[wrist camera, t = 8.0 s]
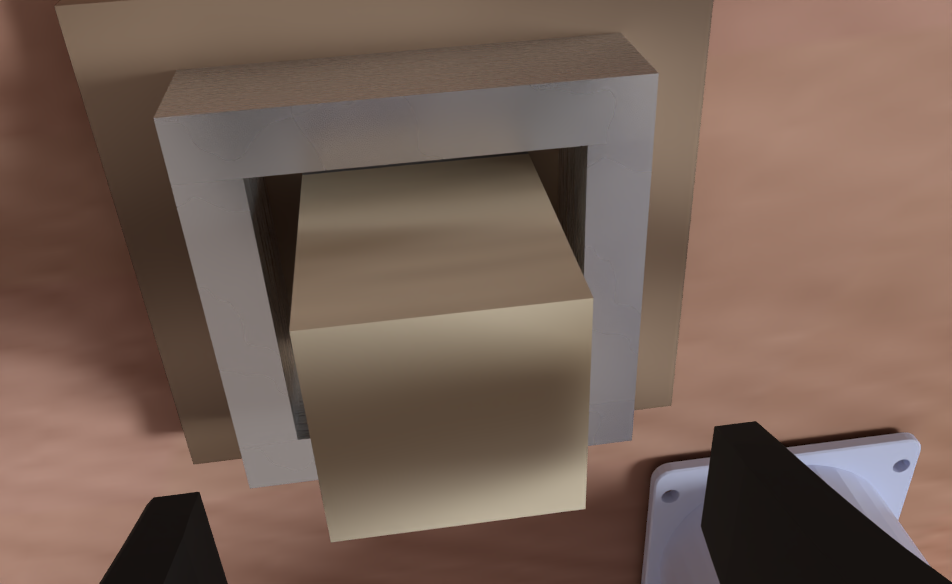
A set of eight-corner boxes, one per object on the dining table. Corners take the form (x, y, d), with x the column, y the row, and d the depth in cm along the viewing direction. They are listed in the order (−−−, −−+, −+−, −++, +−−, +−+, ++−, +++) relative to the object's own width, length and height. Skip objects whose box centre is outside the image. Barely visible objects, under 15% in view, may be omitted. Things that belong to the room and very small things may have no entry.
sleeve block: (524, 315, 20) (585, 509, 15) (332, 336, 20) (330, 542, 15) (521, 137, 18) (593, 298, 13) (303, 157, 17) (289, 331, 12)
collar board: (656, 376, 23) (704, 472, 20) (200, 431, 22) (178, 540, 19) (696, -59, 17) (771, -14, 14) (71, -12, 16) (10, 47, 13)
